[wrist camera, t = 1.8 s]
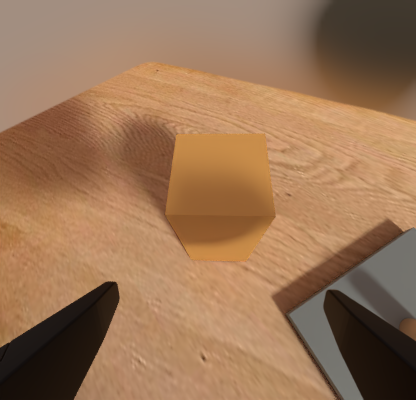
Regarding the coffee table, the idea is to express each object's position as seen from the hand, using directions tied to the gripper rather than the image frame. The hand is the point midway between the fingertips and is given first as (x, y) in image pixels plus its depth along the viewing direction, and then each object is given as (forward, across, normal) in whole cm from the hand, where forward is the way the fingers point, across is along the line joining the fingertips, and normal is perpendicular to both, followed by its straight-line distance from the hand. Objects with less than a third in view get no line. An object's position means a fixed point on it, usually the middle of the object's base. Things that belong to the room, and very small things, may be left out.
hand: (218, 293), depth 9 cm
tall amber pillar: (+13, 0, +4) cm, 14 cm away
